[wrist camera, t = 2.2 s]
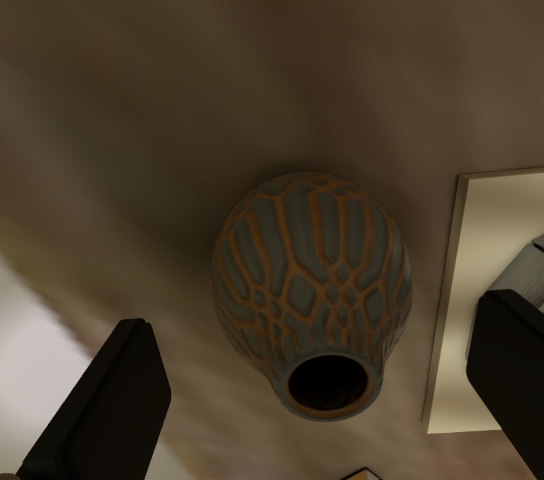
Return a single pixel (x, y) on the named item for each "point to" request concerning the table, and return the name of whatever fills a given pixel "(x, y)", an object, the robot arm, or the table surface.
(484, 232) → the birch board
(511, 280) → the ring collar
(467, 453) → the table surface
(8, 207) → the table surface
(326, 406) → the vase
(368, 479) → the small box
